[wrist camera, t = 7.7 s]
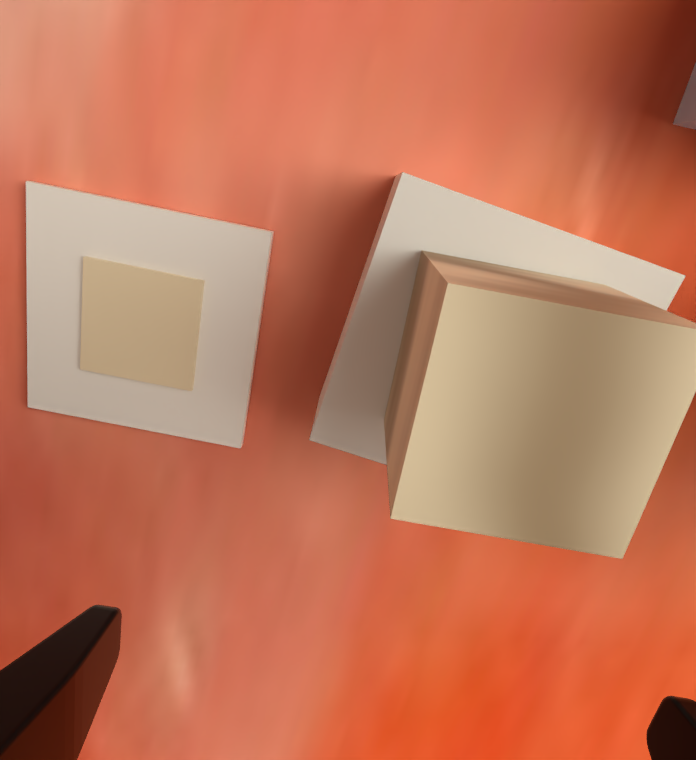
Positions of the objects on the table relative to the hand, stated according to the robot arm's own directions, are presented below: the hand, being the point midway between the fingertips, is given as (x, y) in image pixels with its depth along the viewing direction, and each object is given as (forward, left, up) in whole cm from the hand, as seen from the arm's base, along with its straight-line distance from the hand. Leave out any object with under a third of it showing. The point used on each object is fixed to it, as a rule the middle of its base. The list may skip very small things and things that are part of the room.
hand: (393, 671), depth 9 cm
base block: (+2, +3, -12) cm, 13 cm away
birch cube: (+2, +4, -8) cm, 9 cm away
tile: (-9, +1, -12) cm, 15 cm away
